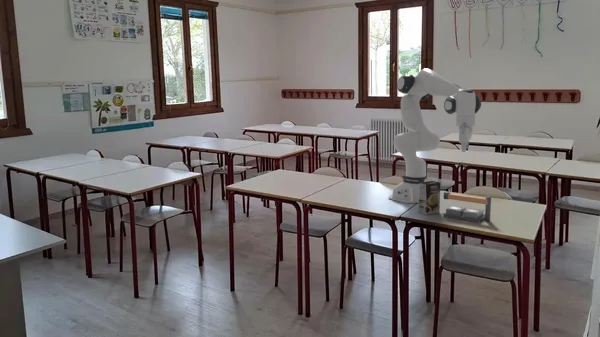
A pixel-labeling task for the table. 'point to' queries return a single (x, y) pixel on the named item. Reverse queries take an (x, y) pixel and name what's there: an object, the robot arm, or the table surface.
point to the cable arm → (472, 199)
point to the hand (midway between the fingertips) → (465, 150)
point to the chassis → (464, 213)
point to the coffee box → (429, 197)
